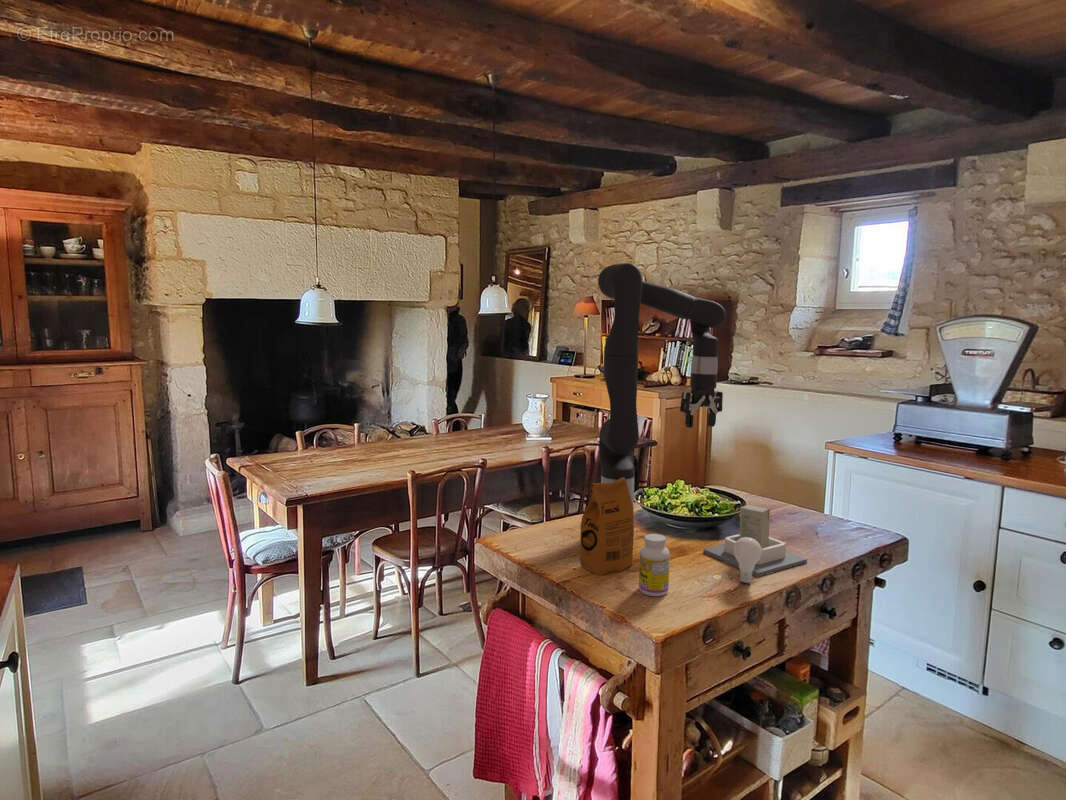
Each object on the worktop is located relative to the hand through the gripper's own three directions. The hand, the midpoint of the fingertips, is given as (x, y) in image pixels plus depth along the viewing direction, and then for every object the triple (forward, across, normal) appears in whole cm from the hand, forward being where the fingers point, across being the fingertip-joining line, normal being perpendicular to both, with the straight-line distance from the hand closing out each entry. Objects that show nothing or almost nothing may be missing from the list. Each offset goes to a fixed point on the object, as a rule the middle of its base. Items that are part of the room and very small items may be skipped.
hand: (700, 426), depth 193 cm
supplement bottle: (+31, -41, -32) cm, 61 cm away
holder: (+30, -5, -28) cm, 41 cm away
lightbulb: (+30, -19, -39) cm, 53 cm away
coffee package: (+31, -43, -15) cm, 55 cm away
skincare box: (+29, -6, -28) cm, 40 cm away
